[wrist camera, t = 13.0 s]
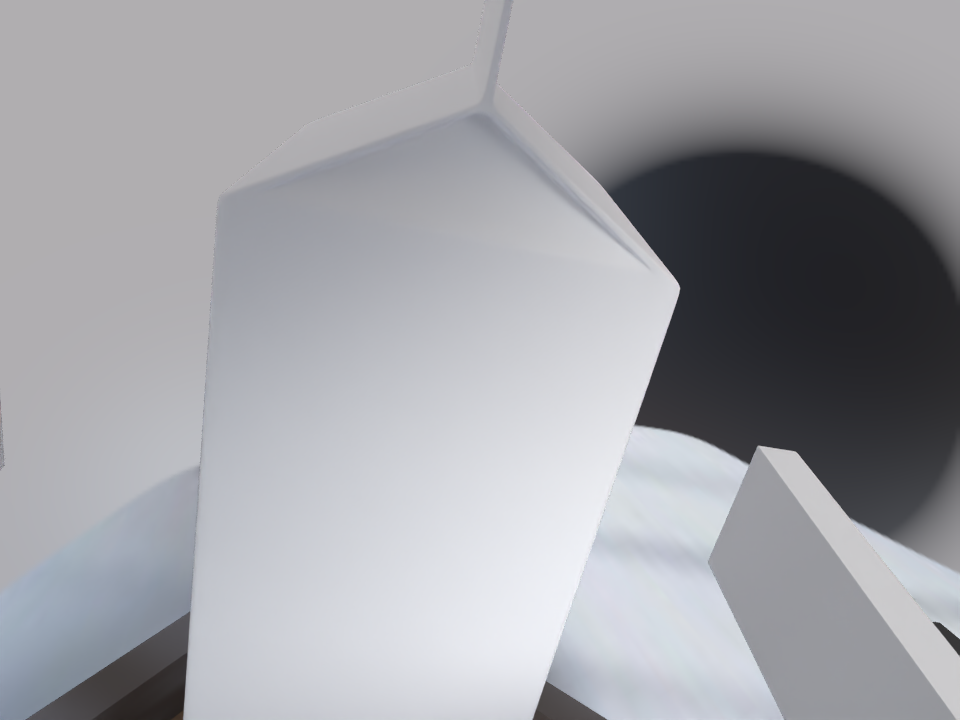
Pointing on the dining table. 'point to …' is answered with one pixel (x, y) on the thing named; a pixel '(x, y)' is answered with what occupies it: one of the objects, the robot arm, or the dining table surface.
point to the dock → (162, 678)
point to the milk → (411, 408)
